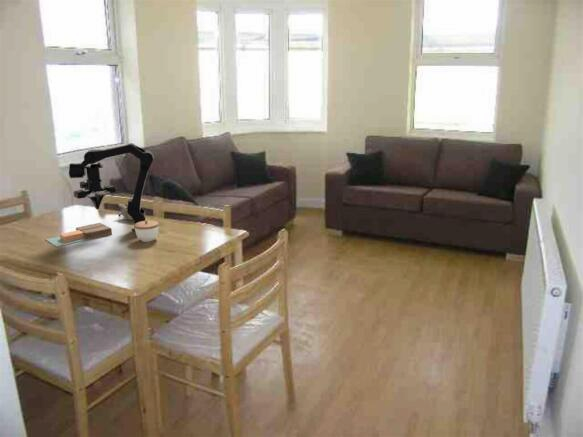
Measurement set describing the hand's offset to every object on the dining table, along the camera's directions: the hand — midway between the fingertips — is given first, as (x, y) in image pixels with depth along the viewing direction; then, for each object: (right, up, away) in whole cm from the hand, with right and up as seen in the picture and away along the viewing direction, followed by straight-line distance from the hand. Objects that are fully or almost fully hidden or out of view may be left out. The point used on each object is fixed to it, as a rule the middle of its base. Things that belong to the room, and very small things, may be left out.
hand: (97, 209), depth 260 cm
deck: (-2, -12, +1) cm, 12 cm away
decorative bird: (+8, -5, +25) cm, 27 cm away
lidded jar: (+26, -14, -8) cm, 31 cm away
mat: (-12, -14, -7) cm, 20 cm away
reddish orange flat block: (-9, -14, -6) cm, 18 cm away
